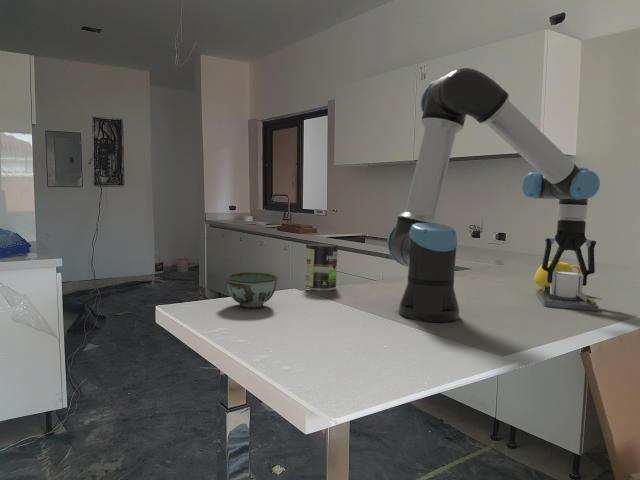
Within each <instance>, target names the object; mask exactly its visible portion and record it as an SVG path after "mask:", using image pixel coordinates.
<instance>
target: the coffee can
mask: <svg viewBox="0 0 640 480" xmlns="http://www.w3.org/2000/svg"><path fill="white" fill-rule="evenodd" d="M305 248H306V251H305V274H304V276H305V278H304V279H305V280H304V288H305V289H307V290H309V291H310V290H311V291H321V292H329V291H335V290H336V289H337V272H338V271H337V268H338V250H339V249H338V248H339V245H338V244H335V243H322V242H320V243H319V242H318V243H317V242H313V243H312V242H311V243H306V244H305Z"/></svg>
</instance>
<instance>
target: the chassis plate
mask: <svg viewBox="0 0 640 480" xmlns="http://www.w3.org/2000/svg"><path fill="white" fill-rule="evenodd" d="M542 288H543V291H541V290H536V292H535V295H536V297H537V298H538V300H539V301H540V303H541V305H543V307H546V308H547V307H549V308H555V309H556V308H557V309H559V308H560V309H566V308H570V309H569V310H577V309H580V310H579V311H588V310H589V311H591V312H599V308H600V307H599V305H598V304H597V301H595V300H594V299H593V298H591V297H588V296H586V295H585V294H583V293H582V297H578V296H577V293H576V297H574V298H569V297H561V296H557V295H555V288H554V295H552V294H550V285H544V286H543V287H542ZM561 299H565V300H561ZM573 300H575V301H573ZM579 301H580V302H579Z"/></svg>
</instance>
